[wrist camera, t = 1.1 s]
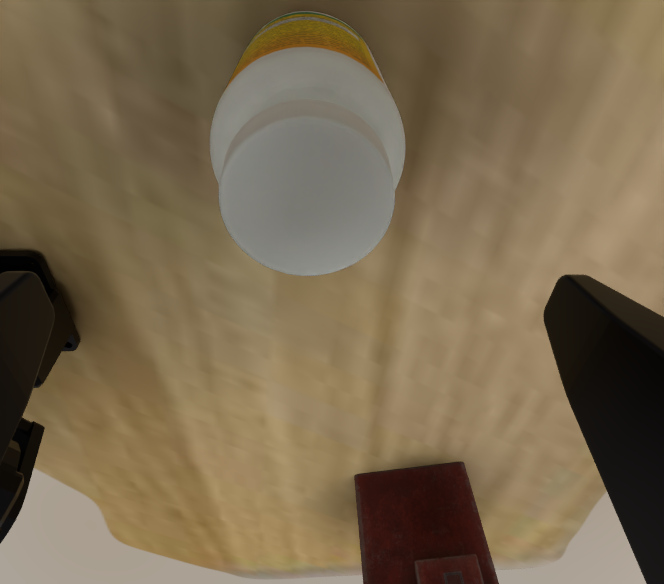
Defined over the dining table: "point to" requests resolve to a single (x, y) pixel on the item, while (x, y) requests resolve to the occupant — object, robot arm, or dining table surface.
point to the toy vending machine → (421, 527)
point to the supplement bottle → (307, 147)
